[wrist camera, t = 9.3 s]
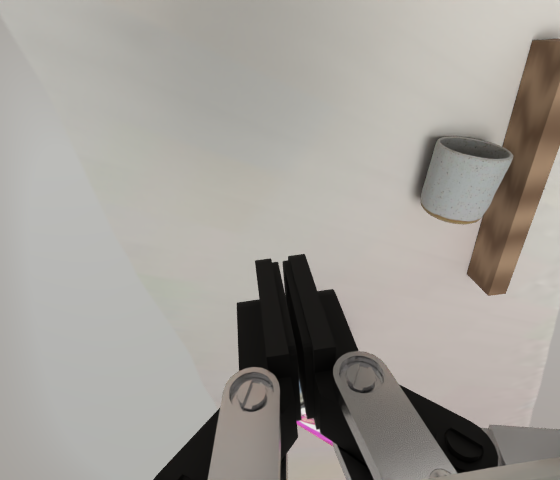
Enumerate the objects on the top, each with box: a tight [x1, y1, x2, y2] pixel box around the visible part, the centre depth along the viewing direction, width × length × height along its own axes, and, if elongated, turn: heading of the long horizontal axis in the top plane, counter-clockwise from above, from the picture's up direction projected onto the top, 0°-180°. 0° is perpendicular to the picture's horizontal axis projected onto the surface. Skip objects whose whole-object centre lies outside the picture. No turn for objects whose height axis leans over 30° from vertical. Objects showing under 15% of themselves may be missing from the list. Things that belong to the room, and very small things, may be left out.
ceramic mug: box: [421, 136, 513, 224], centre depth 40 cm, size 11×8×8 cm
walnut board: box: [467, 39, 560, 296], centre depth 42 cm, size 30×2×5 cm, turn 3°
